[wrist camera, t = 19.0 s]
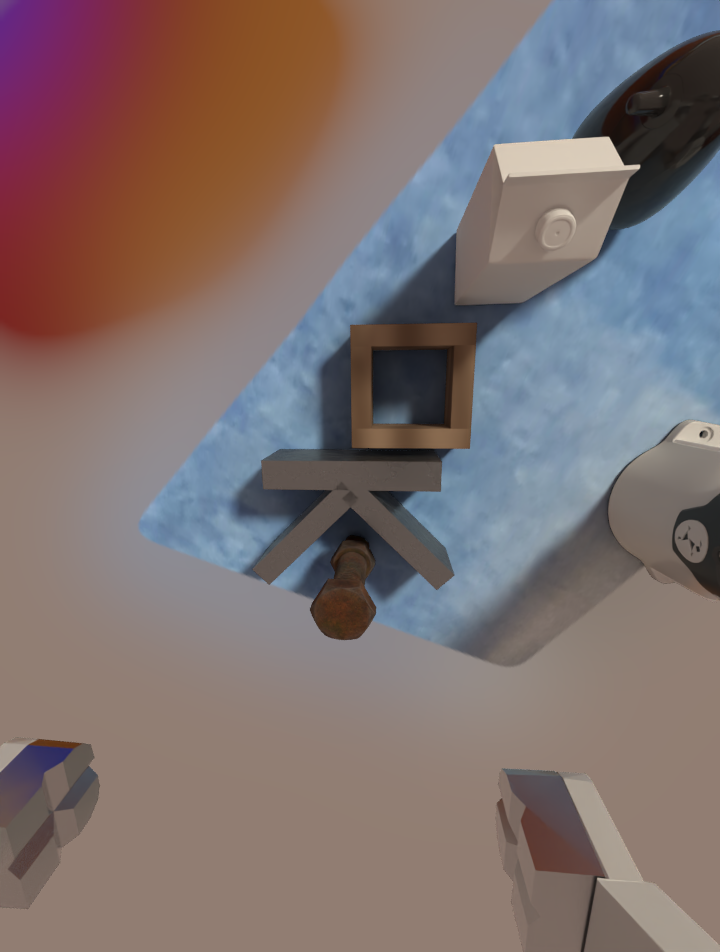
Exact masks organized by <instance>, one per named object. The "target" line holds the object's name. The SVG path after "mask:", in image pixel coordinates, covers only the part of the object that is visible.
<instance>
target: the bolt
mask: <svg viewBox="0 0 720 952" xmlns="http://www.w3.org/2000/svg"><path fill="white" fill-rule="evenodd" d="M331 564H332V567H333V569H334V571H335V575H334V579H328V580H327V581H326V583H325V584H324V586H323V587H322V589H321V590H320V592H319V593H318V595H317V596H316V598H315V599H314V601H313V603H312V605H311V608H310V611H311V614H312V616H313V618H314V621H315V622H316V624H317V626H318V628H319V629H320V630H321V632H322V633H324V635H326V636H328V637H330V638H334V639H339V640H352V639H357V638H359V637H360V636H361V635H362V634H363V633H364V632H365V630H366V629H367V628H368V626H369V625H370V623H371V622H372V620H373V618H374V616H375V615H376V606H375V604H374V603H373V601H372V599H371V597H370V596H369V594H368V592H367V590H366V589H365V587H364V585H365V579H366V578H367V577H368V575H369V574H370V572H371V571H372V569H373V567H374V566H375V558H374V556H373V554H372V552H371V550H370V549H369V543H368V542H367V541H366V540H365V539H364V538H362V537H360V536H354V535H350V536H348V537H347V538H346V540H345V541H343V542H342V543H341V544H340V546H339V547H338V549H337V550H336V552H335V553H334V555H333V557H332V559H331Z"/></svg>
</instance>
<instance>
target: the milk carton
mask: <svg viewBox="0 0 720 952" xmlns="http://www.w3.org/2000/svg"><path fill="white" fill-rule="evenodd" d="M639 169H640V165H626V166H624V164H623V162H622V160H621V158H620V157H619V155H618V153H617V151H616V149H615V147H614V145H613V143H612V142H611V140H610V138H609V137H594V138H579V139H565V140H551V141H536V142H522V143H508V144H496V145H494V147H493V149H492V151H491V154H490V156H489V158H488V160H487V163H486V165H485V167H484V169H483V172H482V174H481V176H480V179H479V181H478V183H477V185H476V188H475V190H474V192H473V195H472V197H471V199H470V201H469V204H468V206H467V208H466V210H465V213H464V215H463V217H462V220H461V222H460V224H459V226H458V229H457V234H456V269H455V305H481V304H507V303H522V302H525V301H526V300H528V299H530V298H531V297H533V296H535V295H536V294H538V293H540V292H541V291H543V290H545V289H546V288H548V287H550V286H551V285H553V284H555V283H556V282H558V281H560V280H561V279H563V278H564V277H566V276H568V275H569V274H571V273H573V272H574V271H576V270H578V269H579V268H581V267H583V266H584V265H586V264H588V263H589V262H591V261H592V260H594V259H595V258H596V257H597V256H598V254H599V251H600V249H601V246H602V244H603V241H604V239H605V236H606V234H607V231H608V229H609V226H610V224H611V222H612V219H613V217H614V214H615V212H616V209H617V207H618V204H619V202H620V199H621V197H622V194H623V192H624V189H625V187H626V184H627V182H628V180H629V177H631V176H632V175H633V174H634V173H635V172H636V171H638V170H639Z"/></svg>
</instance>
